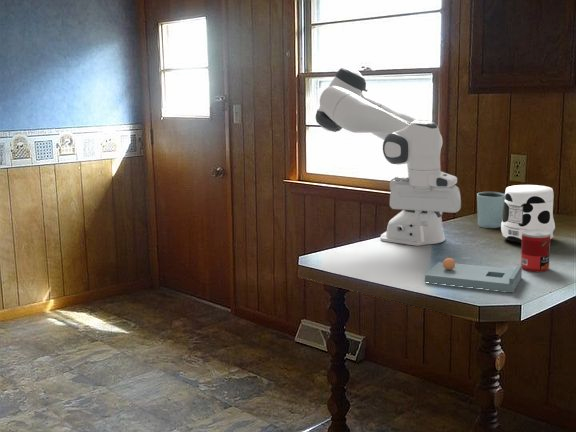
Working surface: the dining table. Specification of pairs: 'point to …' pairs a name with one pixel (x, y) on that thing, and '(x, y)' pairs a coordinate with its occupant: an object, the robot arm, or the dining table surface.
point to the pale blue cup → (490, 209)
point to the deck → (476, 276)
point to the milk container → (527, 211)
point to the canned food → (535, 250)
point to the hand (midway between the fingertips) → (424, 225)
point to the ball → (448, 263)
